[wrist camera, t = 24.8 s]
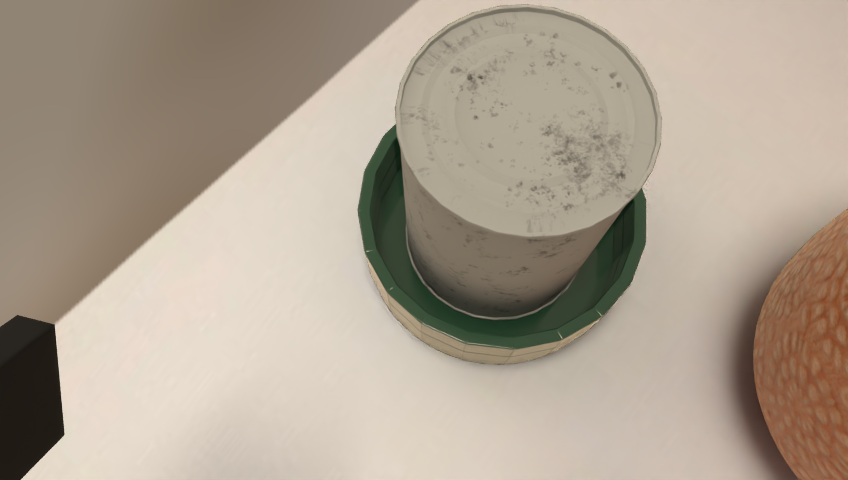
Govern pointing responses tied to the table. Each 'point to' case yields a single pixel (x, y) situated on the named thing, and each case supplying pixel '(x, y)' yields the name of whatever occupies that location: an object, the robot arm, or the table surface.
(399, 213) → the green bowl
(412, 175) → the dirty tin can
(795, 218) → the table surface
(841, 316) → the planter
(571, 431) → the table surface
